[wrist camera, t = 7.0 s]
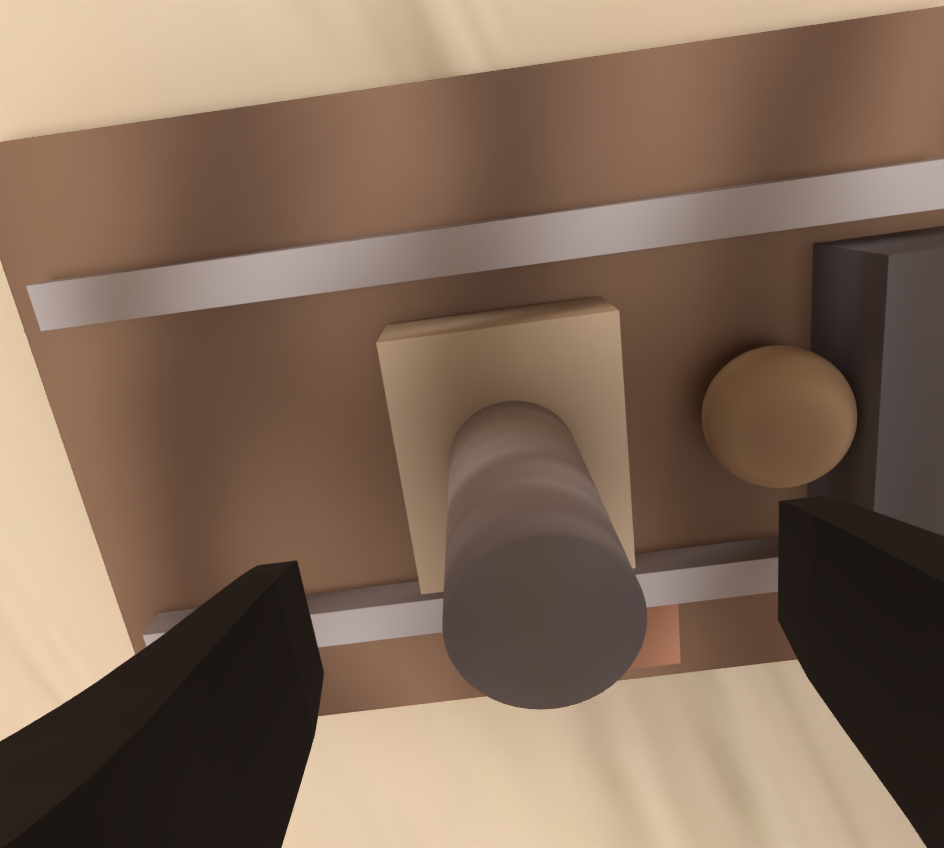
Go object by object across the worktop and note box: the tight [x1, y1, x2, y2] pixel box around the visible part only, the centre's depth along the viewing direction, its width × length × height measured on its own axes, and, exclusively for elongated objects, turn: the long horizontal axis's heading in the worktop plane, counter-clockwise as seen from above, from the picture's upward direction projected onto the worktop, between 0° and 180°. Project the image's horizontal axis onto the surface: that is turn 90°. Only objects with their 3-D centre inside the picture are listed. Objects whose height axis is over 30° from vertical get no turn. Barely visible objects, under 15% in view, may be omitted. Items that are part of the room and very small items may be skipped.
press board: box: [0, 6, 944, 716], centre depth 17 cm, size 22×16×5 cm
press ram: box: [376, 296, 647, 709], centre depth 13 cm, size 5×6×8 cm
